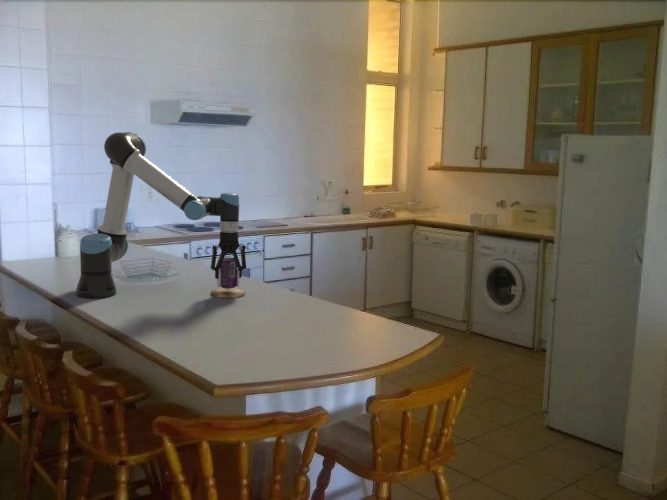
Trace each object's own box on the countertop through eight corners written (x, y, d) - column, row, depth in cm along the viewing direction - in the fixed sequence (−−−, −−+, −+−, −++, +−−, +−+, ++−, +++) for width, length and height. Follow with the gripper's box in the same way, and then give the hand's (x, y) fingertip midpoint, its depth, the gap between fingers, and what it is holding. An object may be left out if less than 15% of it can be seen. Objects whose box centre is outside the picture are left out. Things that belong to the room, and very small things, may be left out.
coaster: (214, 298, 278) (214, 296, 278) (207, 290, 290) (207, 288, 290) (248, 297, 283) (248, 295, 283) (240, 289, 296) (240, 287, 296)
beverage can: (238, 286, 289) (239, 257, 287) (234, 289, 282) (235, 260, 280) (222, 284, 290) (222, 256, 288) (217, 288, 283) (218, 259, 281)
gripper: (206, 232, 275) (205, 289, 279) (255, 232, 282) (254, 287, 286) (202, 230, 282) (202, 285, 286) (250, 229, 289) (249, 283, 293)
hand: (228, 285), depth 286 cm, fingers closed on beverage can, 7 cm apart
